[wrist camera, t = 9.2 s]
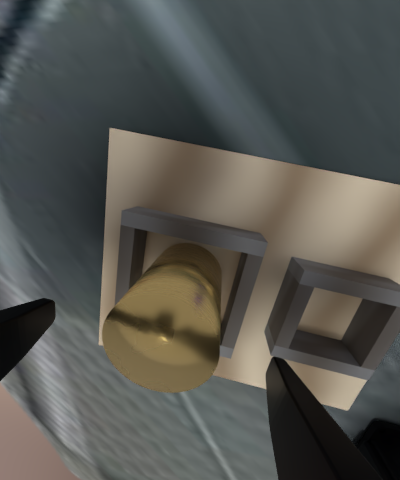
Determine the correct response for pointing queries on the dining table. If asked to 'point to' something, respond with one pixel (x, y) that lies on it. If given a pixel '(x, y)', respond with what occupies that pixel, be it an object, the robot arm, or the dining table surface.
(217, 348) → the cylinder
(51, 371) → the dining table surface
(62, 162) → the dining table surface
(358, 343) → the board
